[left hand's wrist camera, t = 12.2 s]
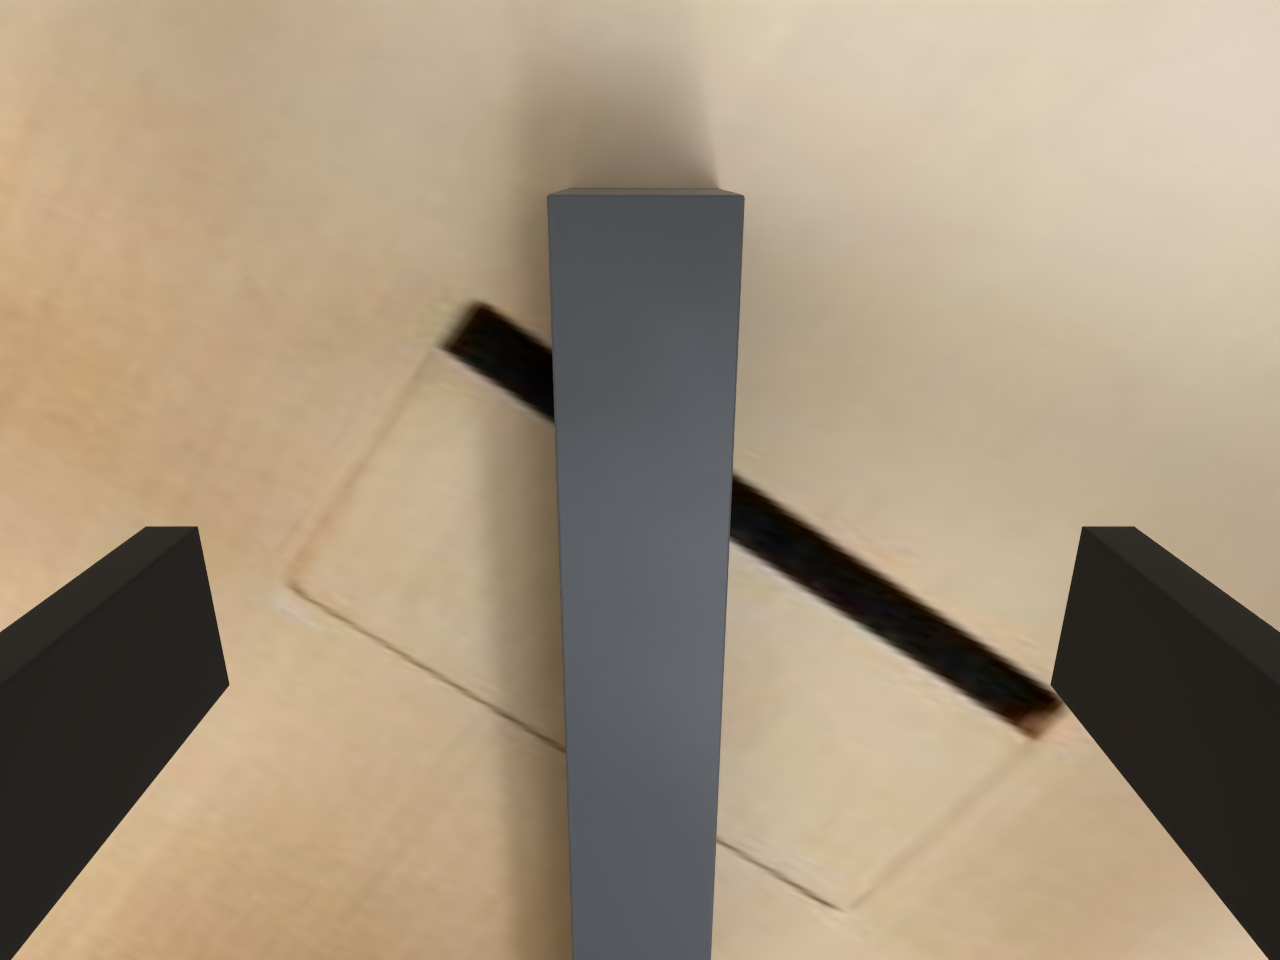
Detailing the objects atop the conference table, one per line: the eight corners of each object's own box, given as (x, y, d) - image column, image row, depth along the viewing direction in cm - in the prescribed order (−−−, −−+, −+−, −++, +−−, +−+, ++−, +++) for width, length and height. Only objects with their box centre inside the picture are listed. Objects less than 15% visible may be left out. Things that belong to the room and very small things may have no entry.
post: (568, 188, 31) (546, 194, 24) (720, 188, 31) (745, 194, 24) (592, 1149, 49) (584, 1313, 42) (687, 1149, 49) (695, 1313, 42)
